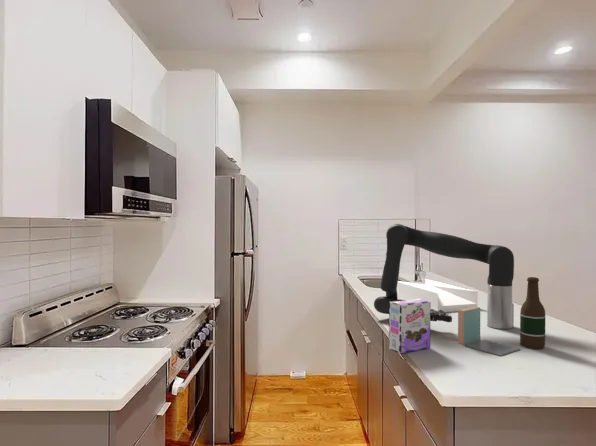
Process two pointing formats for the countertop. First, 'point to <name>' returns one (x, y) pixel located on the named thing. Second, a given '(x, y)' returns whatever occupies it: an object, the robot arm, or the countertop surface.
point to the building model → (438, 295)
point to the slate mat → (492, 347)
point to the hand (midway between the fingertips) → (450, 319)
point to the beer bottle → (532, 318)
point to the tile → (468, 325)
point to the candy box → (409, 325)
